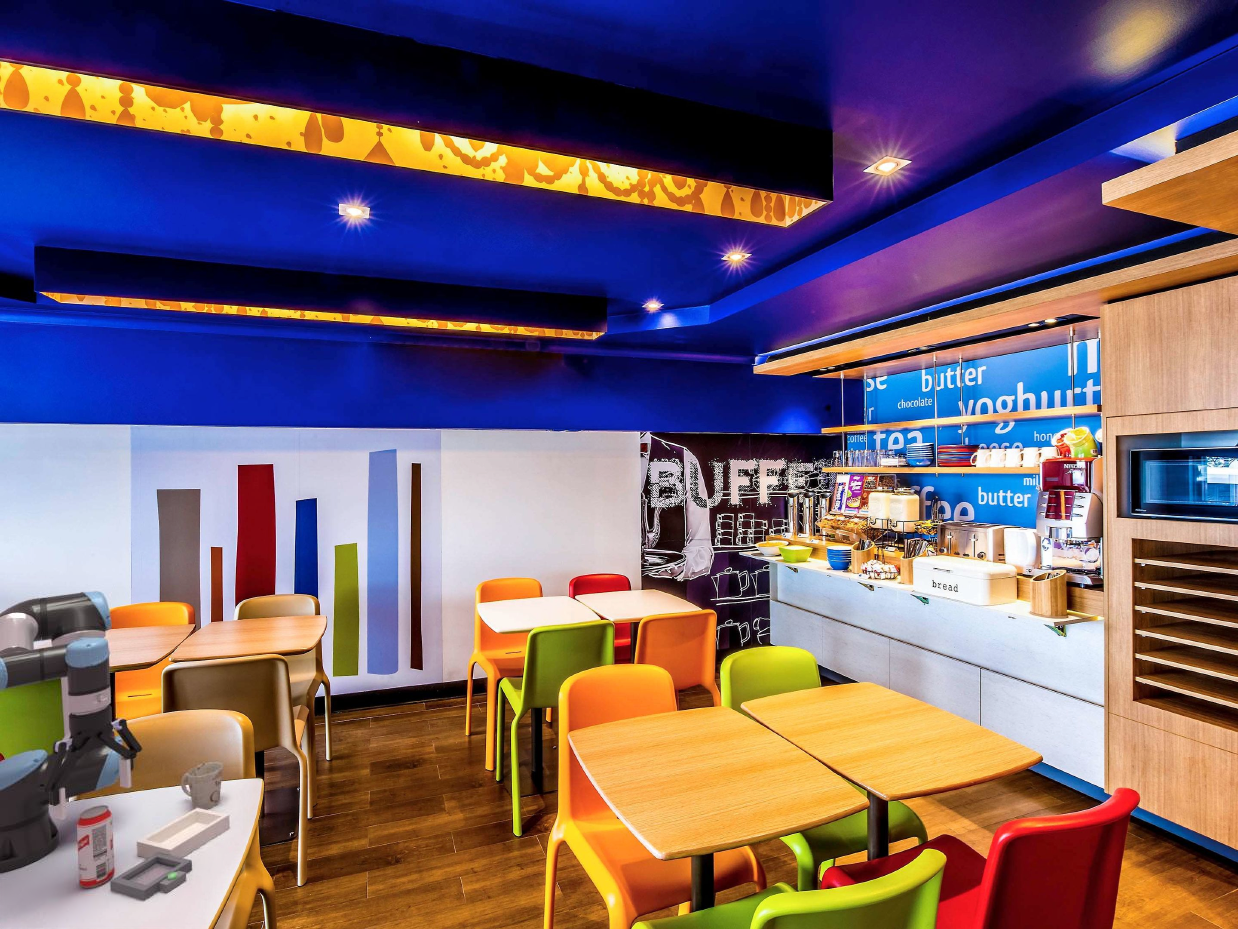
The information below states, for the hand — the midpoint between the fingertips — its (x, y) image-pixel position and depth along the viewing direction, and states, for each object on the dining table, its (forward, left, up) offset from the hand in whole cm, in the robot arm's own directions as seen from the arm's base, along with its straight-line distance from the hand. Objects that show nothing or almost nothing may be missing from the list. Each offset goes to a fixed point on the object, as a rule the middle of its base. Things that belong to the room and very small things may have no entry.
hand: (94, 801), depth 147 cm
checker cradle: (+13, +4, -18) cm, 23 cm away
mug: (-8, +31, -18) cm, 37 cm away
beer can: (0, 0, -18) cm, 18 cm away
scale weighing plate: (+12, +4, -19) cm, 23 cm away
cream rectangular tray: (+5, +17, -18) cm, 25 cm away
